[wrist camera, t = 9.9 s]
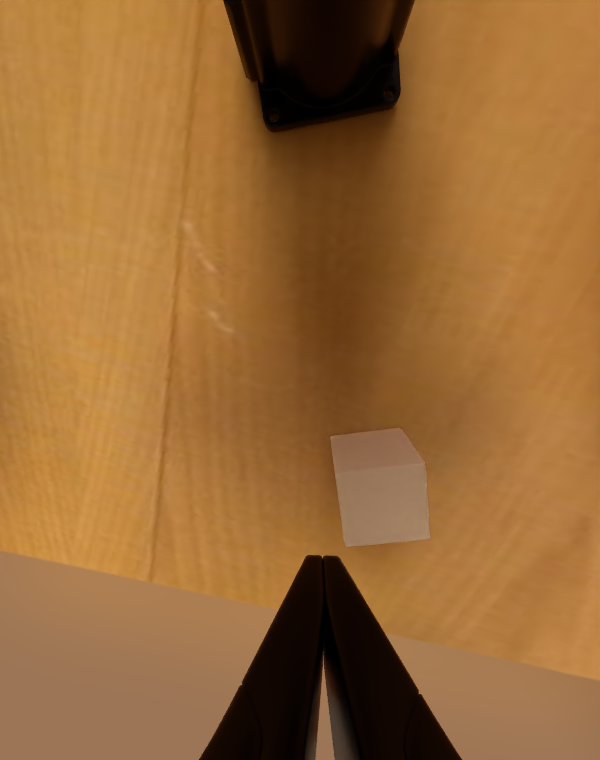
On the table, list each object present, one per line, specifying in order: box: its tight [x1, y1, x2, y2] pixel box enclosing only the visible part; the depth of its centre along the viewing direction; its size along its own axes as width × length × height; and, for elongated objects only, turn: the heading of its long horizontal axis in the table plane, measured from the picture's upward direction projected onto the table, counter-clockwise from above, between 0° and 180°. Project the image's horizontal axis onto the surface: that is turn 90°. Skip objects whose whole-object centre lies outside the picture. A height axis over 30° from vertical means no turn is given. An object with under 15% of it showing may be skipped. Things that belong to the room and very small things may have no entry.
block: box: [330, 427, 430, 547], centre depth 18 cm, size 4×4×4 cm
